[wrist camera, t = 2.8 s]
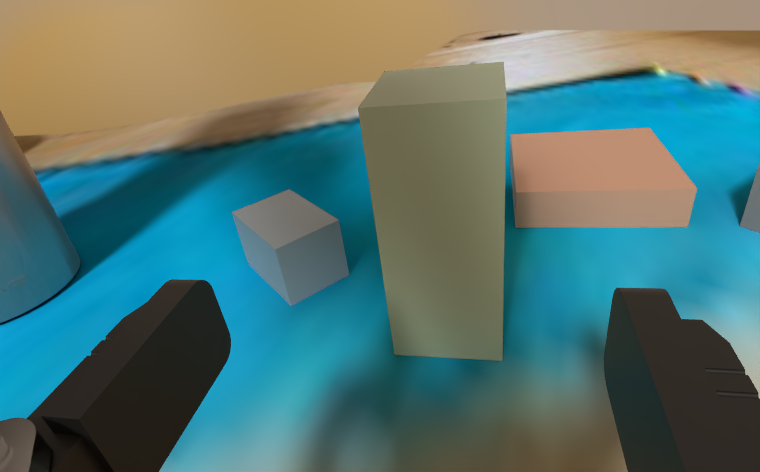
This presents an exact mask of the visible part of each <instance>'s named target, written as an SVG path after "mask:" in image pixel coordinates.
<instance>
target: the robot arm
mask: <svg viewBox="0 0 760 472" xmlns="http://www.w3.org/2000/svg"><path fill="white" fill-rule="evenodd" d="M80 263H81V261H80V257H79V255H78V253H77V251H76V249H75V248H74V246H73V244H72V242H71V240H70V238H69V237H68V235H67V233H66V231H65V229H64V227H63V225H62V224H61V222H60V220H59V218H58V216H57V214H56V213H55V211H54V208H53V206H52V205H51V203H50V201H49V199H48V197H47V195H46V194H45V192H44V190H43V188H42V186H41V184H40V183H39V181H38V179H37V177H36V175H35V174H34V172H33V170H32V168H31V166H30V164H29V163H28V161H27V159H26V157H25V155H24V153H23V152H22V150H21V148H20V146H19V144H18V142H17V141H16V139H15V137H14V135H13V133H12V131H11V130H10V128H9V126H8V124H7V122H6V121H5V119H4V117H3V115H2V113H1V111H0V323H2V322H4V321H7V320H9V319H11V318H14V317H16V316H18V315H20V314H23V313H24V312H26V311H28V310H30V309H32V308H34V307H36V306H38V305H39V304H41V303H42V302H44V301H46V300H47V299H49V298H50V297H52V296H53V295H55V294H56V293H57V292H58V291H60V290H61V289H62V288H63V287H64V286H66V285H67V284H68V282H69V281H70V280H71V279H72V278H73V277H74V276H75V274H76V273H77V271H78V270H79V267H80ZM230 348H231V338H230V333H229V330H228V328H227V325H226V322H225V320H224V317H223V315H222V312H221V309H220V307H219V304H218V301H217V299H216V296H215V294H214V291H213V288H212V286H211V285H210V284H209V283H208V282H207V281H205V280H169V281H167V282H166V283H165V284H164V285H163V286H162V287H161V288H160V289H159V290H158V291H157V292H156V293H155V294H154V295H153V296H152V297H151V299H150V300H149V301H148V302H147V303H145V304H144V305H142V306H141V307H139V308H138V309H136V310H135V311H133V312H132V313H130V314H129V315H127V316H126V317H124V318H123V319H122V320H121V321H120V322H119V323H118V324H117V325H116V326H115V327H114V328H113V329H112V330H111V332H110V333H109V334H108V335H107V336H106V340H102V341H101V342H100V343H99V344H98V345H97V346H96V347H95V348H94V349H93V350H92V351H91V356H87V357H86V358H85V359H84V360H83V361H82V362H81V363H80V364H79V365H78V366H77V367H76V368H75V369H74V370H73V371H72V372H71V373H70V374H69V375H68V376H67V377H66V378H65V379H64V381H63V382H62V383H61V384H60V385H59V386H58V387H57V388H56V389H55V390H54V391H53V392H52V393H51V394H50V395H49V396H48V397H47V398H46V399H45V400H44V401H43V402H42V403H41V405H40V406H39V407H38V408H37V409H36V410H35V411H34V412H33V413H32V414H31V415H30V416H29V417H28V418H27V419H24V418H13V419H7V420H3V421H0V472H159V470H160V469H161V467H162V465H163V464H164V462H165V461H166V459H167V457H168V456H169V454H170V453H171V451H172V449H173V448H174V446H175V444H176V443H177V441H178V440H179V438H180V436H181V435H182V433H183V432H184V430H185V428H186V427H187V425H188V423H189V422H190V420H191V419H192V417H193V415H194V414H195V412H196V411H197V409H198V407H199V406H200V404H201V403H202V401H203V399H204V398H205V396H206V394H207V393H208V391H209V390H210V388H211V386H212V385H213V383H214V382H215V380H216V378H217V377H218V375H219V373H220V372H221V370H222V369H223V367H224V365H225V364H226V362H227V360H228V357H229V354H230ZM604 371H605V380H606V386H607V390H608V394H609V398H610V402H611V406H612V410H613V414H614V418H615V422H616V426H617V430H618V434H619V438H620V442H621V446H622V450H623V454H624V458H625V462H626V466H627V470H628V472H760V399H759V397H758V391H757V390H756V388H755V386H754V384H753V383H752V381H751V379H750V378H749V376H748V375H745V369H744V367H743V365H742V364H741V362H740V360H739V359H738V357H737V355H736V353H735V352H734V350H733V348H732V346H731V345H730V343H729V342H728V341H727V340H725V339H724V338H723V337H722V336H721V335H720V334H718V333H717V332H716V331H715V330H714V329H712V328H711V327H710V326H709V325H708V324H706V323H705V322H704V321H703V320H689V319H681V318H680V316H679V314H678V312H677V310H676V308H675V306H674V304H673V302H672V300H671V297H670V295H669V294H668V292H667V291H666V290H665V289H654V288H616V289H615V291H614V294H613V299H612V305H611V312H610V319H609V325H608V332H607V339H606V345H605V353H604Z"/></svg>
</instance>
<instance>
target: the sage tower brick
mask: <svg viewBox="0 0 760 472" xmlns="http://www.w3.org/2000/svg"><path fill="white" fill-rule="evenodd" d="M358 111H359V118H360V125H361V131H362V138H363V145H364V152H365V158H366V165H367V172H368V179H369V186H370V192H371V199H372V206H373V213H374V219H375V226H376V233H377V240H378V246H379V253H380V260H381V267H382V273H383V280H384V287H385V294H386V300H387V307H388V314H389V321H390V327H391V334H392V341H393V348H394V355H405V356H423V357H440V358H458V359H476V360H493V361H503V296H504V230H505V163H506V87H505V74H504V62H496V63H484V64H471V65H459V66H446V67H434V68H421V69H408V70H396V71H384V73H383V74H382V75H381V77H380V78H379V80H378V81H377V82H376V84H375V85H374V87H373V88H372V89H371V91H370V92H369V93H368V95H367V96H366V98H365V99H364V100H363V102H362V103H361V104H360V106H359V107H358Z"/></svg>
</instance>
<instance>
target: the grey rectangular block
mask: <svg viewBox="0 0 760 472" xmlns="http://www.w3.org/2000/svg"><path fill="white" fill-rule="evenodd" d="M740 227H743V228H746V229H749V230H752V231H755V232H759V233H760V165H759V166H758V169H757V172H756V175H755V178H754V182H753V185H752V188H751V191H750V195H749V198H748V201H747V204H746V207H745V211H744V214H743V217H742V220H741V223H740Z"/></svg>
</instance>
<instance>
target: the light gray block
mask: <svg viewBox="0 0 760 472" xmlns="http://www.w3.org/2000/svg"><path fill="white" fill-rule="evenodd" d="M232 215H233V218H234V221H235V224H236V227H237V230H238V233H239V237H240V240H241V243H242V246H243V249H244V252H245V255H246V258H247V261H248V264H249V265H250V266H251V267H252V268H253V269H254V270H255V271H256V272H257V273H258V274H259V275H260V276H261V277H262V278H263V279H264V280H265V281H266V282H267V283H268V284H269V285H270V286H271V287H272V288H273V289H274V290H275V291H276V292H277V293H278V294H279V295H280V296H282V297H283V298H284V299H285V300H286V301H287V302H288V303H289V304H290V305H291V306H293V305H294V304H296V303H298V302H300V301H302V300H304V299H306V298H308V297H309V296H311V295H313V294H315V293H317V292H319V291H321V290H323V289H324V288H326V287H328V286H330V285H332V284H334V283H336V282H338V281H339V280H341V279H343V278H345V277H347V276H349V270H348V265H347V260H346V254H345V249H344V244H343V239H342V234H341V229H340V223H339V220H338V219H337V218H335V217H333V216H332V215H330V214H328V213H327V212H325V211H324V210H322V209H320V208H319V207H317V206H316V205H314V204H312V203H311V202H309V201H307V200H306V199H304V198H303V197H301V196H299V195H298V194H296V193H295V192H293V191H291V190H290V189H288V190H286V191H283V192H281V193H278V194H276V195H273V196H271V197H269V198H266V199H264V200H261V201H259V202H256V203H254V204H251V205H249V206H246V207H244V208H241V209H239V210H236V211H234V212H232Z"/></svg>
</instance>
